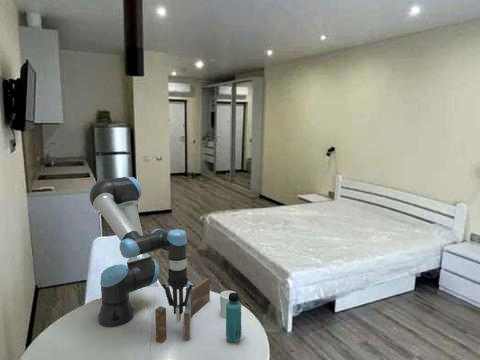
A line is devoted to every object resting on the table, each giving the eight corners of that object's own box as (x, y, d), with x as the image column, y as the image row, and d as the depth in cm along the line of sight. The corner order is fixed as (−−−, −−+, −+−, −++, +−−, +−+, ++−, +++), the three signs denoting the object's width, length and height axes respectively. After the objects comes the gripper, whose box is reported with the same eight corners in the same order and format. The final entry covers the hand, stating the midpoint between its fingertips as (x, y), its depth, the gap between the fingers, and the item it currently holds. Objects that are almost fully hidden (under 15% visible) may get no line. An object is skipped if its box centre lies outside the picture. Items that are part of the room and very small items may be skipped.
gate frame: (156, 341, 139) (155, 309, 137) (205, 299, 173) (205, 273, 171) (161, 343, 137) (161, 311, 135) (210, 301, 171) (210, 274, 169)
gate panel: (186, 317, 155) (186, 293, 153) (191, 316, 155) (191, 293, 154) (184, 338, 139) (183, 312, 138) (189, 338, 140) (189, 312, 138)
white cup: (234, 320, 155) (234, 299, 153) (217, 318, 156) (218, 297, 155) (238, 311, 163) (238, 291, 161) (222, 309, 164) (222, 289, 163)
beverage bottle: (235, 346, 136) (236, 300, 133) (222, 341, 140) (222, 295, 136) (244, 338, 142) (245, 293, 138) (231, 333, 145) (231, 289, 142)
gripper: (159, 270, 137) (161, 325, 140) (191, 271, 136) (192, 326, 140) (164, 263, 144) (165, 315, 148) (194, 264, 144) (195, 316, 147)
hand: (178, 320), depth 144 cm, fingers closed
